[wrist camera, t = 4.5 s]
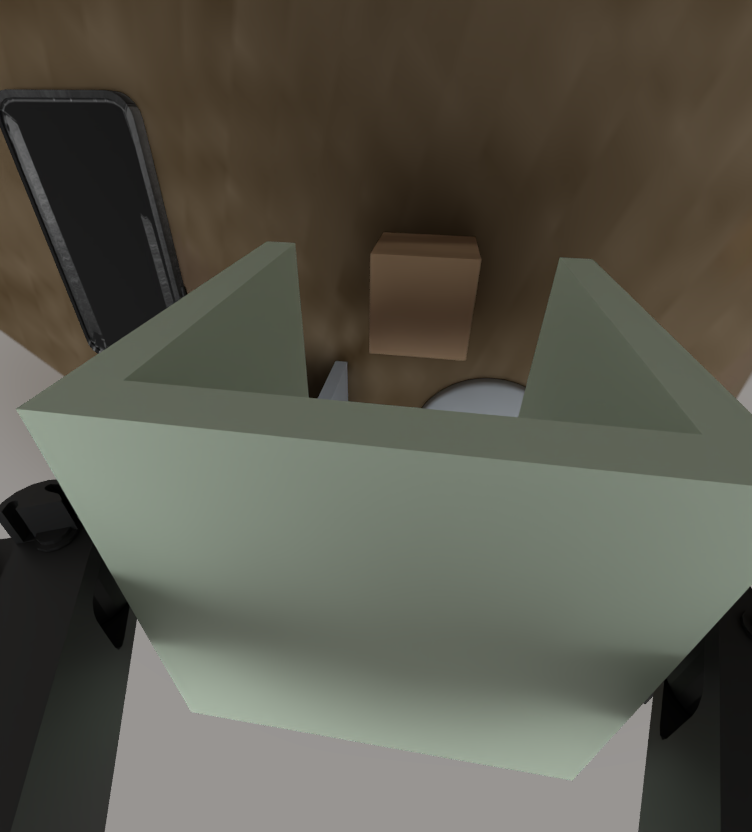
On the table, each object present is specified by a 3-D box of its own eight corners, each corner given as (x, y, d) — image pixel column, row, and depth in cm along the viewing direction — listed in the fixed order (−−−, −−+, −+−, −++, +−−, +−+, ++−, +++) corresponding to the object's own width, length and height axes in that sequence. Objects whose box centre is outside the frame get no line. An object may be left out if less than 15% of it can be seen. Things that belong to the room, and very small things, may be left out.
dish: (417, 372, 28) (416, 380, 27) (574, 385, 27) (579, 394, 26) (407, 483, 33) (406, 494, 32) (537, 497, 32) (540, 508, 31)
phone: (93, 356, 30) (-16, 89, 21) (103, 349, 31) (3, 90, 22) (198, 365, 29) (128, 90, 20) (206, 357, 30) (141, 91, 21)
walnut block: (383, 231, 23) (370, 253, 19) (475, 236, 23) (481, 259, 19) (381, 318, 26) (369, 353, 22) (462, 323, 26) (465, 360, 22)
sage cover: (266, 241, 12) (16, 409, 5) (592, 259, 11) (833, 494, 4) (295, 471, 17) (191, 711, 10) (519, 497, 16) (572, 780, 9)
